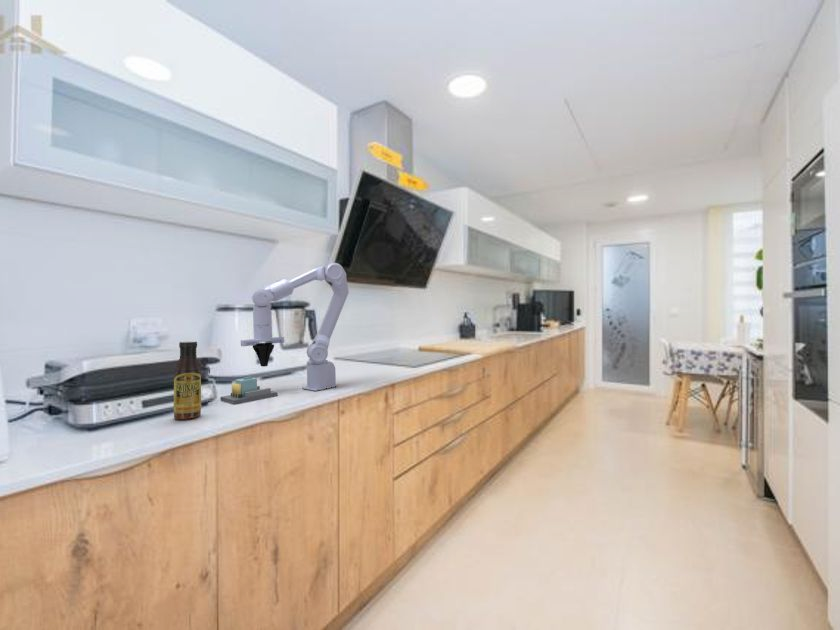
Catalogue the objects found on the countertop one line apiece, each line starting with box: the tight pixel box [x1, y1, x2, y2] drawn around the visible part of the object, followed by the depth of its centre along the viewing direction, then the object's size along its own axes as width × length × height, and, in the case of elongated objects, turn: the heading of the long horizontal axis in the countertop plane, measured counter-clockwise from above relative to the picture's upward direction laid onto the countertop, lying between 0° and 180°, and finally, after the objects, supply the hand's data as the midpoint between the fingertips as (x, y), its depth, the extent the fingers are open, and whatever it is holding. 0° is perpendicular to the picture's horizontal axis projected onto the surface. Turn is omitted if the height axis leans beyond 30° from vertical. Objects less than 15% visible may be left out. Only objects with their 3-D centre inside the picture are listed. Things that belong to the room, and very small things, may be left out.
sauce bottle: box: [173, 340, 202, 421], centre depth 104 cm, size 6×6×20 cm
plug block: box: [234, 376, 258, 397], centre depth 125 cm, size 5×4×6 cm
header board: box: [219, 382, 279, 406], centre depth 126 cm, size 14×9×5 cm, turn 141°
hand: (264, 366), depth 133 cm, fingers closed
